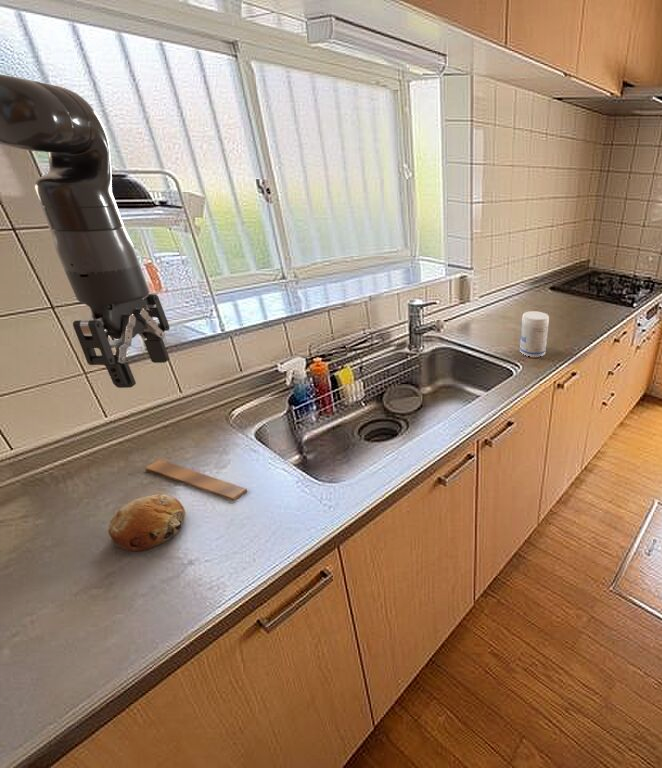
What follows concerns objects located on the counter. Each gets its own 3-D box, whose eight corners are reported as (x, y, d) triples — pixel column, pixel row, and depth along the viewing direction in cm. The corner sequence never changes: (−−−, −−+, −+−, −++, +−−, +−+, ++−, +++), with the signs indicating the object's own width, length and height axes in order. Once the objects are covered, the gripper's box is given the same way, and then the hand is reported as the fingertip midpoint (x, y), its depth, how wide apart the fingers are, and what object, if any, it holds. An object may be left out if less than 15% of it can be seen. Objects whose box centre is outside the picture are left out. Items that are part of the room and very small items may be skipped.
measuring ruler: (145, 469, 87) (144, 467, 86) (160, 461, 89) (159, 459, 89) (233, 500, 80) (232, 498, 80) (247, 491, 83) (246, 488, 82)
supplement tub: (515, 350, 156) (517, 312, 149) (537, 347, 160) (540, 309, 153) (527, 360, 148) (530, 320, 141) (550, 356, 152) (554, 317, 145)
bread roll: (184, 520, 80) (165, 483, 78) (199, 526, 73) (178, 485, 72) (118, 553, 72) (95, 513, 71) (128, 563, 66) (103, 519, 64)
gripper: (106, 253, 61) (145, 355, 69) (22, 275, 49) (80, 397, 56) (164, 254, 62) (196, 354, 70) (96, 276, 50) (144, 395, 57)
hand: (144, 373), depth 63 cm, fingers open, 8 cm apart
